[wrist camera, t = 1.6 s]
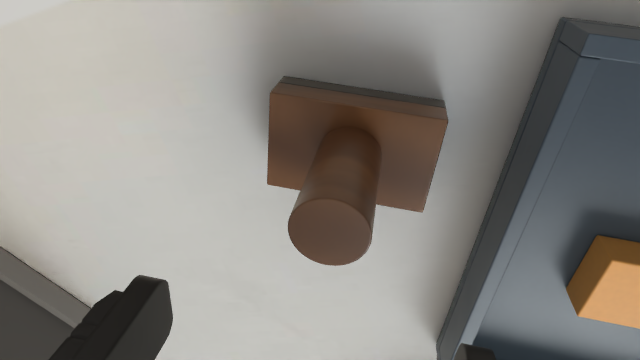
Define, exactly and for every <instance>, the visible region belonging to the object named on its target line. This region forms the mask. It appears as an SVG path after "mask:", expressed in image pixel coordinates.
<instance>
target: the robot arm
mask: <svg viewBox="0 0 640 360" xmlns="http://www.w3.org/2000/svg"><path fill="white" fill-rule="evenodd" d="M172 321H173V314H172V307H171V300H170V293H169V286H168V282H167V281H166V280H162V279H157V278H153V277H148V276H143V275H139V276H137V277H135V278H134V279H133V281H132V282H131V283H130V284H129V286H128V287H127V288H126V289H125V291H124V292H120V291H116V290H115V291H113V292H112V293H110V294H109V295H107V296H106V297H104V298H103V299H101V300H100V301H98V302H97V303H96V304H95V305H94V306H93V307H92V308H91V310H90V311H89V312H88V313H87V314H86V316H85V317H84V318H83V319H82V322H81V323H79V324H78V325H77V326H76V327H75V329H74V330H73V331H72V332H71V335H70V337H67V338H66V339H65V341H64V342H63V343H62V344H61V345H60V346H59V348H58V349H57V350H56V351H55V352H54V354H53V355H52V356H51V357H50V358H49V360H155V358H156V356H157V355H158V353H159V351H160V350H161V348H162V346H163V345H164V343H165V341H166V339H167V337H168V335H169V333H170V330H171V326H172ZM453 360H496V358H495V354H494V352H493V350H492V349H488V348H484V347H479V346H474V345H469V344H464V343H461V344H460V345H459V347H458V349H457V352H456V354H455V357H454V359H453Z"/></svg>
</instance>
